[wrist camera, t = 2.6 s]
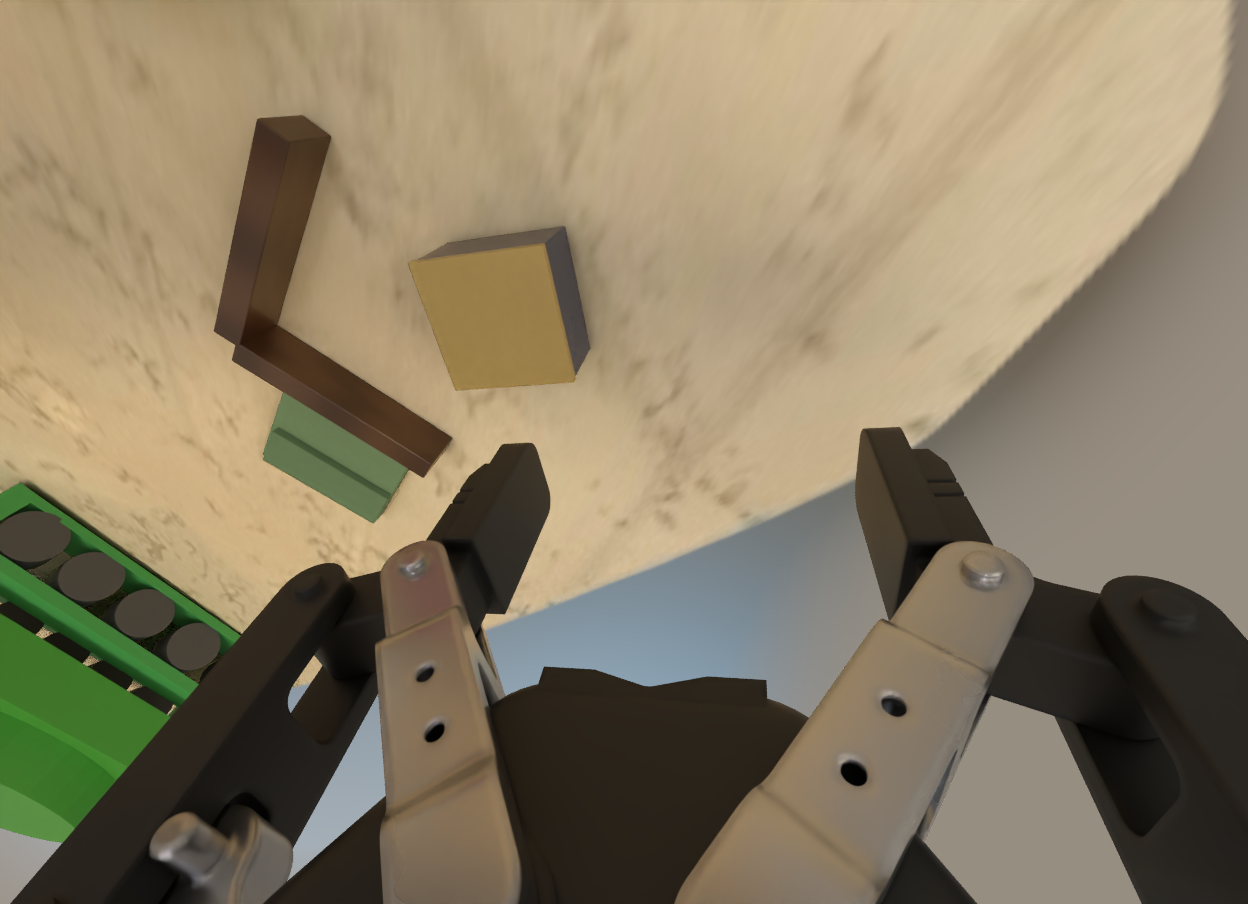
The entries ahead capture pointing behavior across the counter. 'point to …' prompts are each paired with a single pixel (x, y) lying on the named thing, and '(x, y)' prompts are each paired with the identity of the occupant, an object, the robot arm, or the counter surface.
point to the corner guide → (258, 288)
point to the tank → (82, 666)
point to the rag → (331, 460)
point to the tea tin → (505, 309)
